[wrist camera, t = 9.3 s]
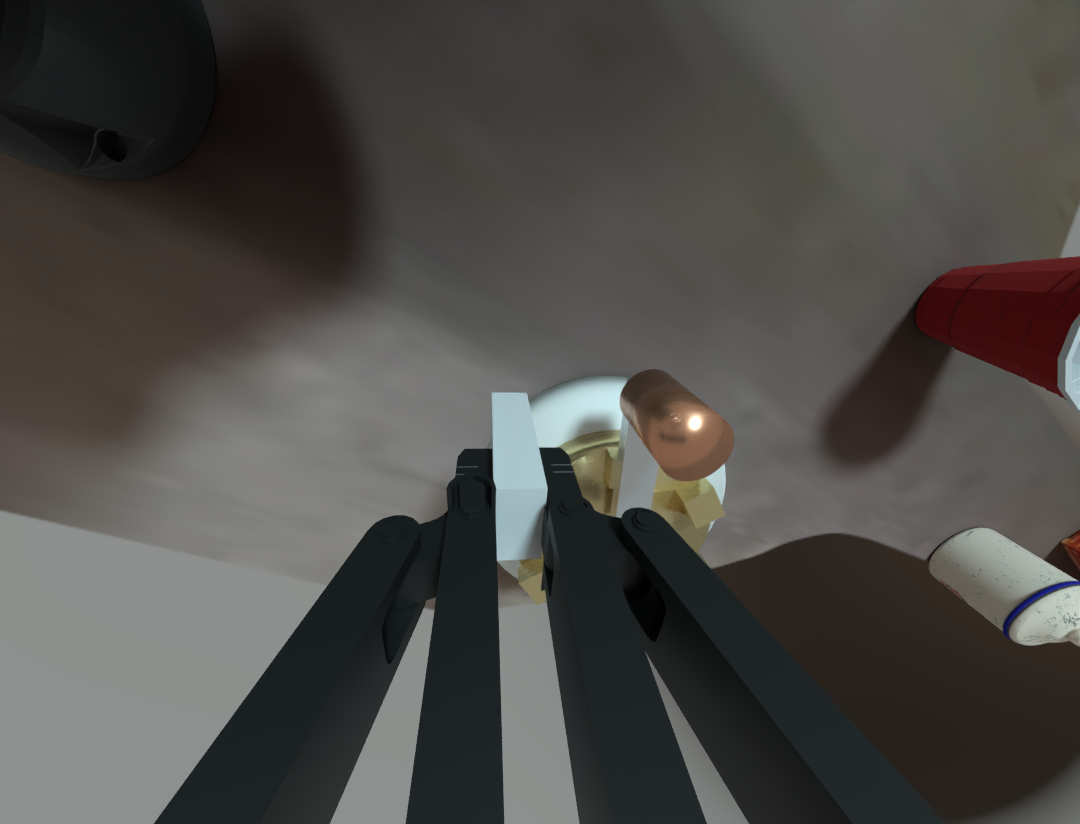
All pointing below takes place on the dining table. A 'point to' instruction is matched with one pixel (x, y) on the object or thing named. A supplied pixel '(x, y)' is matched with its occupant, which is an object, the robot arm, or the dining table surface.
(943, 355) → the dining table surface
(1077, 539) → the medicine box
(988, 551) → the teacup with lid
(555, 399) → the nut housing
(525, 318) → the dining table surface
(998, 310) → the plastic cup
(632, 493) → the ring nut
